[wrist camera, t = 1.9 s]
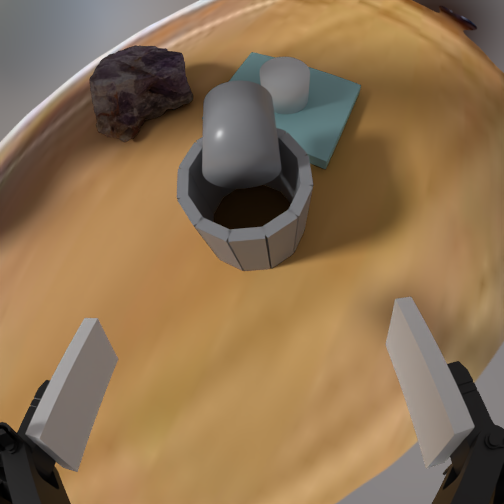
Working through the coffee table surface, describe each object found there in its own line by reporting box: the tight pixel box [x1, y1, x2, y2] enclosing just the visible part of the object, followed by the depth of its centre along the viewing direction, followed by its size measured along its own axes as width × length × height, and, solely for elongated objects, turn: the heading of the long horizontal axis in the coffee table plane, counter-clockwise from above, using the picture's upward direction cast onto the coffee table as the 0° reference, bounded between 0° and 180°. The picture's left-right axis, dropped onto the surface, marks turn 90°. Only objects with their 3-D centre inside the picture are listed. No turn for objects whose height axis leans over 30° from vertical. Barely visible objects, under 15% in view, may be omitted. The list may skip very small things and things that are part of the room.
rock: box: [90, 46, 193, 142], centre depth 32 cm, size 12×9×10 cm
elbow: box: [177, 81, 313, 271], centre depth 24 cm, size 11×9×12 cm
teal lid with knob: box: [202, 52, 361, 169], centre depth 31 cm, size 14×12×6 cm
